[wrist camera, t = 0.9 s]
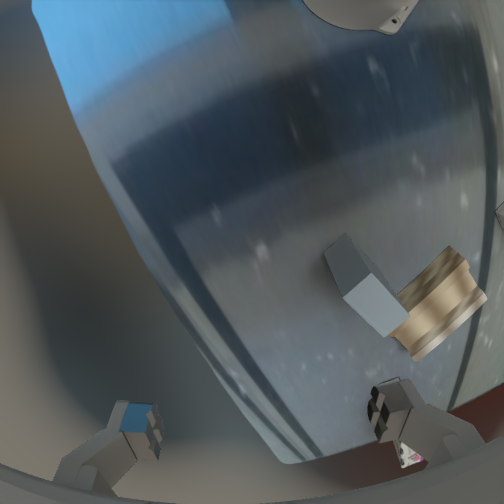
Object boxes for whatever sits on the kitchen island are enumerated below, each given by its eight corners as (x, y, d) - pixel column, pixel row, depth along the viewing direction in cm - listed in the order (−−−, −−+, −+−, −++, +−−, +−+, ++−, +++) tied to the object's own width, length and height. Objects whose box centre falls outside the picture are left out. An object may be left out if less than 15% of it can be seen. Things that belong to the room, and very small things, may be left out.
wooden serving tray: (448, 245, 46) (465, 259, 41) (473, 285, 49) (488, 300, 44) (376, 312, 51) (385, 331, 46) (407, 344, 54) (417, 363, 49)
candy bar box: (403, 404, 61) (424, 460, 46) (382, 412, 62) (400, 469, 47) (400, 374, 57) (426, 435, 42) (377, 383, 58) (399, 445, 43)
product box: (344, 233, 46) (371, 272, 34) (379, 270, 48) (410, 316, 36) (322, 253, 48) (341, 298, 36) (358, 289, 50) (383, 338, 38)
